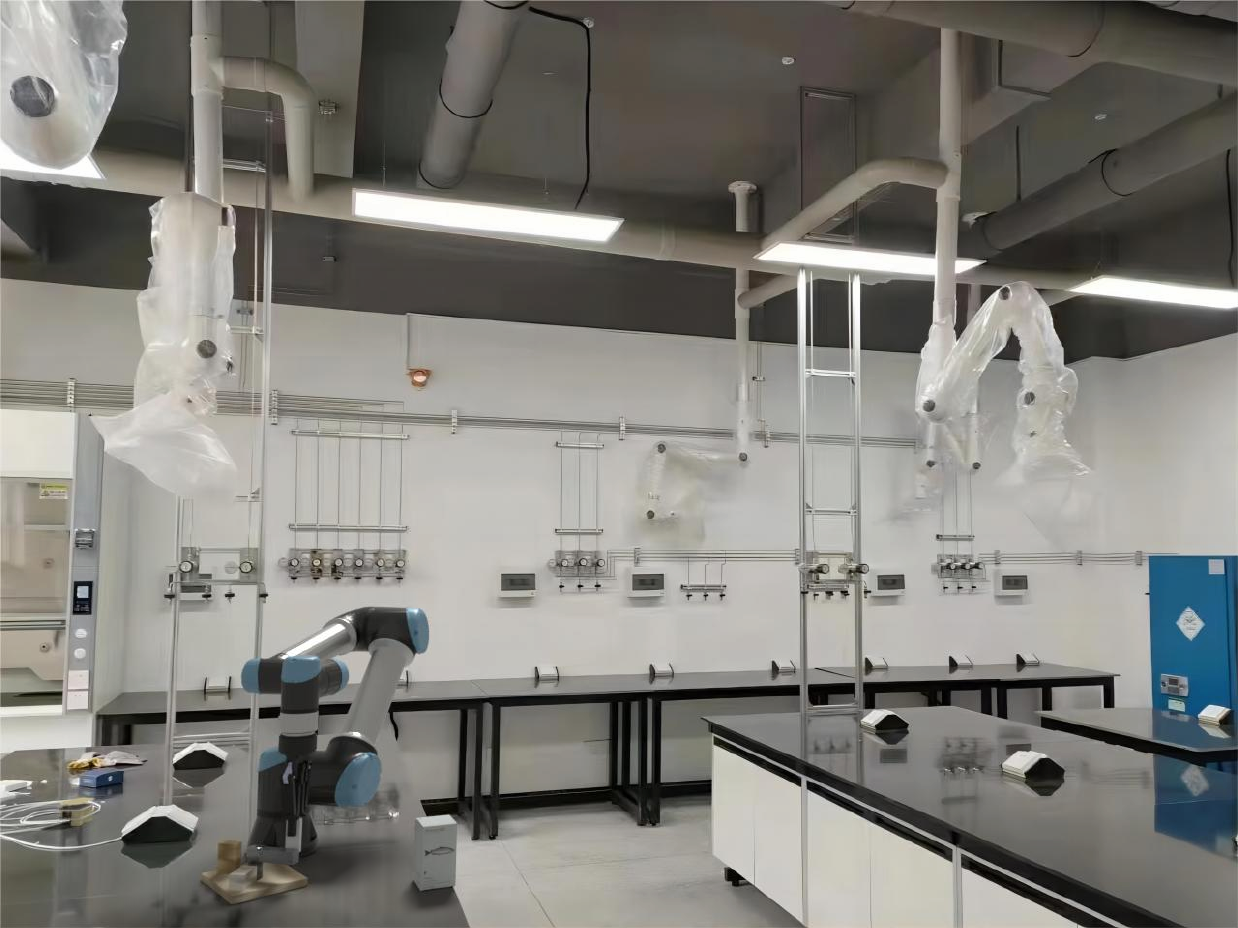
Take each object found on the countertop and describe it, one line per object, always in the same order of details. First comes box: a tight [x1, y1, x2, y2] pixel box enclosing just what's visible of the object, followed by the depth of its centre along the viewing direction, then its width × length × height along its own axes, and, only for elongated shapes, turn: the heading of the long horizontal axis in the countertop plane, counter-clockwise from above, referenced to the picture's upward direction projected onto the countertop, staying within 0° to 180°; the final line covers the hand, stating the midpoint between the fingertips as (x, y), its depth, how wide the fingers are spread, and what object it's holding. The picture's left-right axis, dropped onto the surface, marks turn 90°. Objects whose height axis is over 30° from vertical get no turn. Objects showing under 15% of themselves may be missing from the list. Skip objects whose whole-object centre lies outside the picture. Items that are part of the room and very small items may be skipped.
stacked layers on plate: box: [57, 796, 96, 827], centre depth 228 cm, size 10×9×6 cm
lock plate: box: [201, 839, 309, 905], centre depth 188 cm, size 15×17×8 cm
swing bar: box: [245, 844, 300, 866], centre depth 186 cm, size 11×4×2 cm, turn 78°
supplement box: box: [412, 814, 458, 892], centre depth 189 cm, size 7×7×13 cm
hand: (292, 851), depth 187 cm, fingers closed
